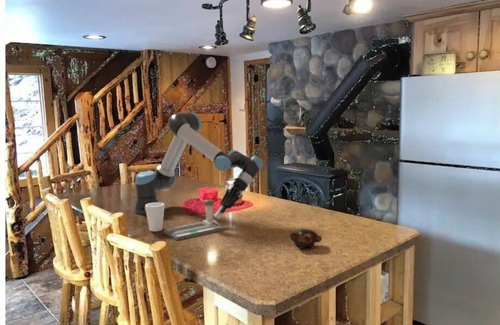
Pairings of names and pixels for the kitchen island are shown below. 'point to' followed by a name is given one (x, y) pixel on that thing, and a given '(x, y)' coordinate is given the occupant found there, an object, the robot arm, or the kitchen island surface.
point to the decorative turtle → (305, 238)
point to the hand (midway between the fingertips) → (216, 217)
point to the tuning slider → (209, 213)
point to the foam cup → (155, 215)
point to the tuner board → (192, 230)
